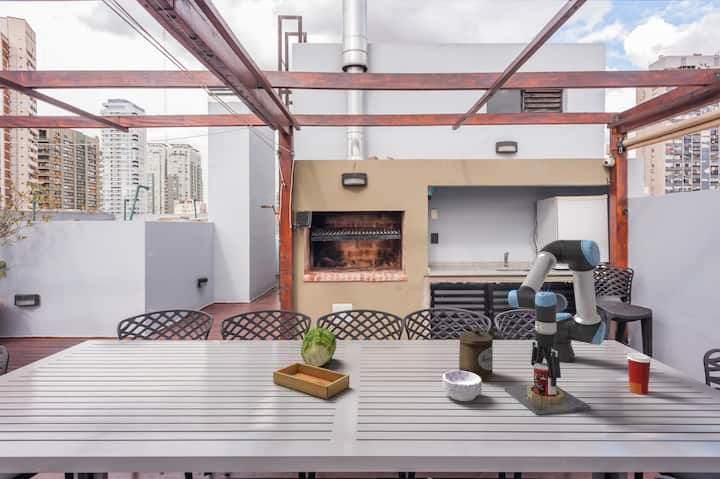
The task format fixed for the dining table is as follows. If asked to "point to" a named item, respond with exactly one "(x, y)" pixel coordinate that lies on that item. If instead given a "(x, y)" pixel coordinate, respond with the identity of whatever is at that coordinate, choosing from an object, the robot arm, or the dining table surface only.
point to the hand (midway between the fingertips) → (545, 389)
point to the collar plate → (546, 406)
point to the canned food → (541, 379)
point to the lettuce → (318, 346)
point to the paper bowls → (462, 385)
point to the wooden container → (476, 353)
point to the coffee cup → (638, 372)
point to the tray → (311, 379)
